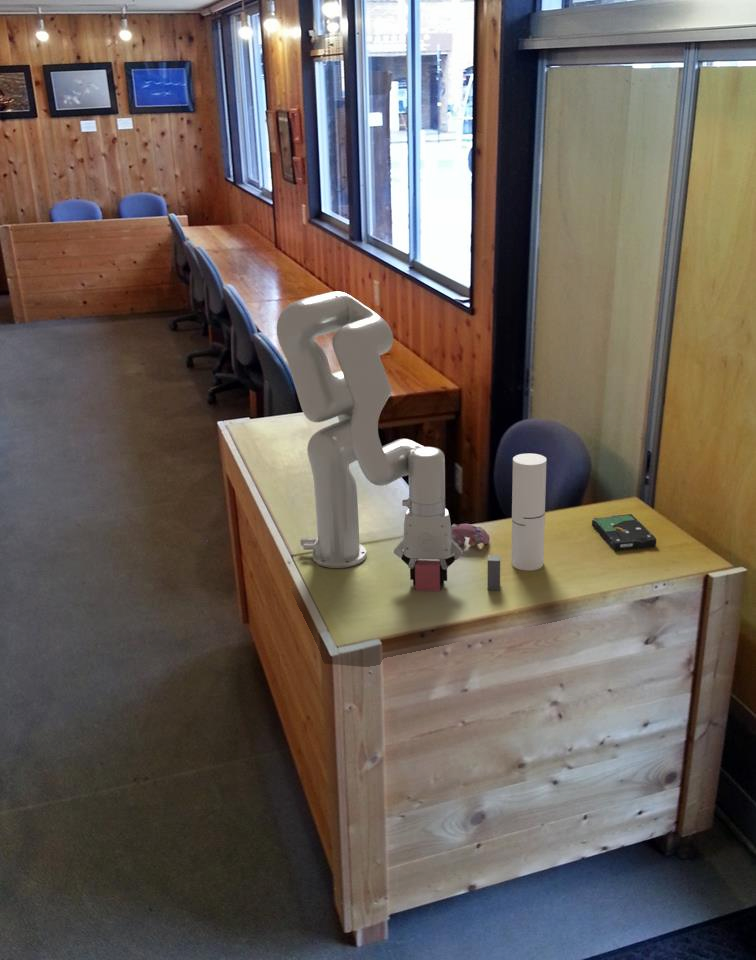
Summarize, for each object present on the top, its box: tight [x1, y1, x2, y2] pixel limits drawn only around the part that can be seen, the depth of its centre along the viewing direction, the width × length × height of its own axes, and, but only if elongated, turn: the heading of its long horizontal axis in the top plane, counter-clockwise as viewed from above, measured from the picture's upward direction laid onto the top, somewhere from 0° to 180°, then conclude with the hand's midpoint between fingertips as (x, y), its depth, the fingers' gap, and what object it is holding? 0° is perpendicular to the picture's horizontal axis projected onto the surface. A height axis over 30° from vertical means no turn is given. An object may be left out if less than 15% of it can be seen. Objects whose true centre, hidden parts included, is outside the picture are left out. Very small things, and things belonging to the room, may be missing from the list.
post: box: [487, 554, 501, 591], centre depth 198 cm, size 3×3×7 cm
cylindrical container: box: [510, 453, 547, 572], centre depth 205 cm, size 7×7×25 cm
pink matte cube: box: [414, 559, 442, 592], centre depth 200 cm, size 5×5×6 cm
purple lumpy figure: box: [451, 523, 491, 547], centre depth 218 cm, size 10×5×7 cm, turn 70°
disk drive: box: [591, 513, 657, 552], centre depth 220 cm, size 10×3×15 cm
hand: (428, 582), depth 201 cm, fingers closed on pink matte cube, 5 cm apart
